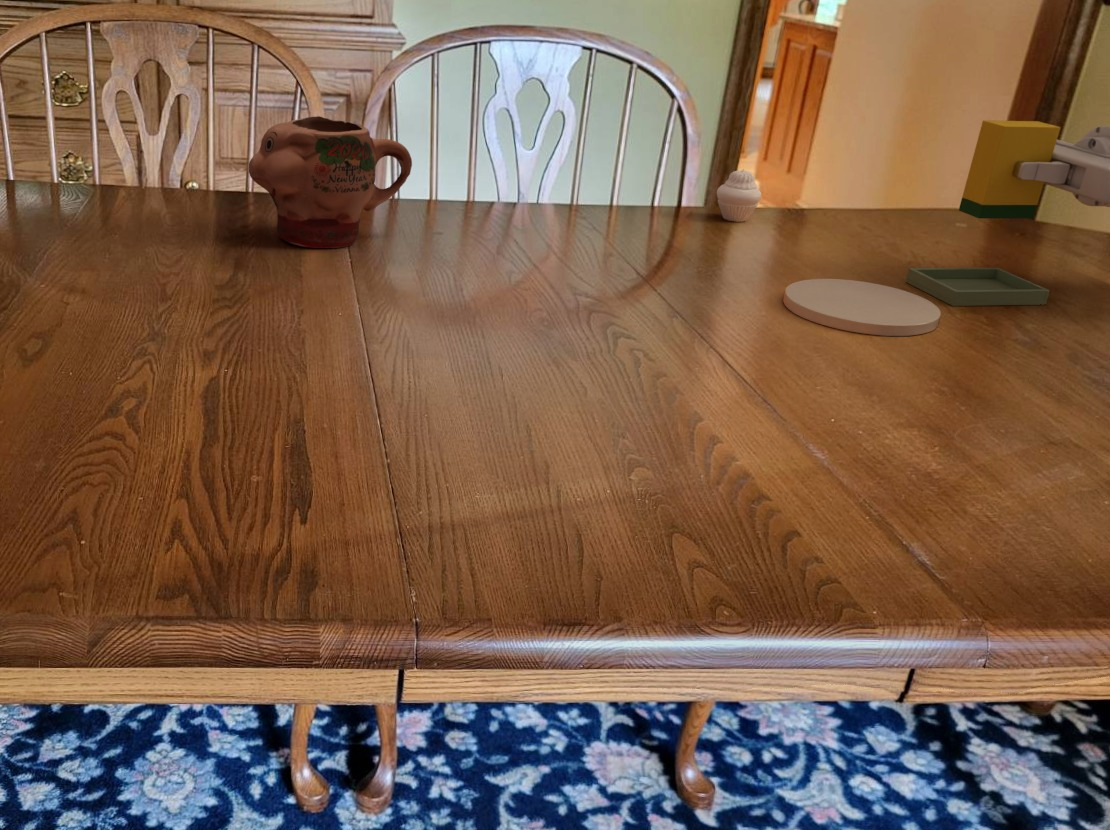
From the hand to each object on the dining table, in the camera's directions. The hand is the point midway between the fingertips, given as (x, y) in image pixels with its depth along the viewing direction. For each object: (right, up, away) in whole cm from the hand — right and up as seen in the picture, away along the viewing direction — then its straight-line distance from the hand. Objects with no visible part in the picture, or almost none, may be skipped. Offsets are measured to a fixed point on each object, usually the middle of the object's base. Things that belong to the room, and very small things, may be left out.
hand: (1002, 165), depth 122 cm
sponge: (+1, -5, +3) cm, 6 cm away
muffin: (-20, +1, +34) cm, 40 cm away
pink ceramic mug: (-76, -6, +14) cm, 77 cm away
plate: (-17, -16, -2) cm, 23 cm away
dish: (0, -13, +6) cm, 15 cm away
